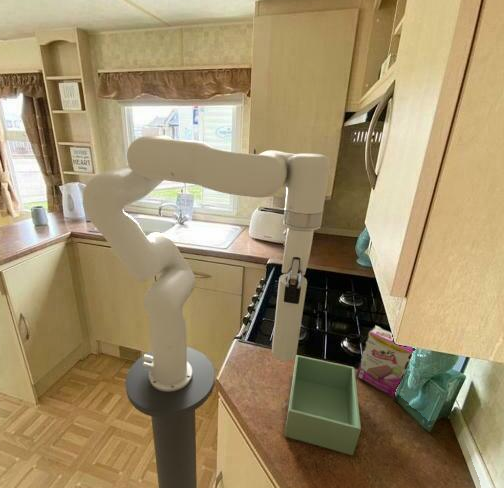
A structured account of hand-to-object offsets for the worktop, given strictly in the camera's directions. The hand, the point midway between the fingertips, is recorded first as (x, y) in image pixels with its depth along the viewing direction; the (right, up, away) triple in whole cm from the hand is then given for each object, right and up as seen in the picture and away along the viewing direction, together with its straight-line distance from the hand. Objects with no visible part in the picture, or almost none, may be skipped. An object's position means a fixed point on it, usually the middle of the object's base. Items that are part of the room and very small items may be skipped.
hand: (293, 292), depth 71 cm
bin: (+9, -32, +9) cm, 34 cm away
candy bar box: (+28, -28, +18) cm, 44 cm away
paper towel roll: (0, -16, +7) cm, 18 cm away
